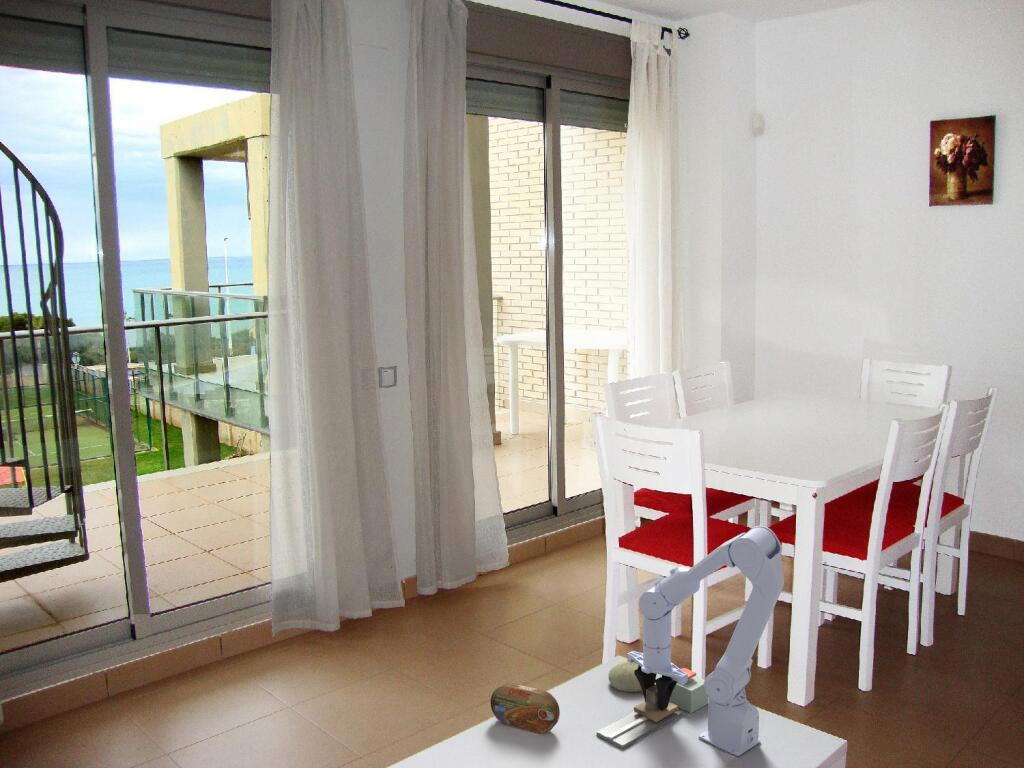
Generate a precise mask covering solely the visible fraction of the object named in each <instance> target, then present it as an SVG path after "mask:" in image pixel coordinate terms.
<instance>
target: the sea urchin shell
mask: <svg viewBox="0 0 1024 768" xmlns="http://www.w3.org/2000/svg"><path fill="white" fill-rule="evenodd" d="M636 669H638V664H636V663H629V662H627V661H625V662H624V661H623V662H621V663H618V664H616V665H614V666H613V667H612V668H611V669H610V670H609V672H608V676H607V677H608V682H609V684H610V685H612V688H615V689H616V690H618V691H620V692H626V693H629V692H630V693H631V692H632V693H636V692H642V689H641V686H640V683H639V681H638V679H637V677H636V676H635V674H634V671H635V670H636Z"/></svg>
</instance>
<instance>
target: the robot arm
mask: <svg viewBox="0 0 1024 768" xmlns="http://www.w3.org/2000/svg"><path fill="white" fill-rule="evenodd" d="M782 552H783V545H782V543H781V542H780V540H779V538H778V537H777V535H776V533H775V532H774V531H773V530H772V529H771V528H770V527H767V526H765V525H756V526H753V527H751V528H750V529H749V530H748V531H747V532H742V533H740V534H738V535H737V536H734V537H733V538H731V539H729V540H727V541H725V542H723V543H722V544H721V545H720V546H718V547H717V548H715V549H714V550H712V551H711V552H710V553H709V554H707V555H706V556H705V557H703V558H702V559H701V560H700V561H698V562H697V563H696V564H694V565H693V566H691V567H689V566H679V567H677V566H675V567H674V568H672V569H671V570H669V575H668V576H666V577H665V578H663V579H662V580H661V579H659V580H658V579H657V580H656V581H654V583H653V584H654V585H653V587H651V588H649V589H648V590H646V591H644V592H643V593H642V595H640V597H639V600H638V608H639V610H640V612H641V613H642V615H643V616H642V617H643V621H642V624H643V626H642V628H643V629H642V632H643V634H642V636H643V637H642V638H643V639H642V644H643V645H642V648H643V649H642V652H639V651H635V650H631V651H630V652H628V653H627V659H626V660H627V661H626V662H629V663H636V664H638V669H636V670H635V671H634V674H635V676H636V677H637V679H638V681H639V683H640V686H641V689H642V690H641V692H642V694H643V695H642V696H643V699H644V701H645V703H646V689H648V688H650V687H652V686H654V685H656V686H657V690H658V704H659V709H660V710H663V709H665V708H667V707H668V704H669V700H670V697H671V694H672V692H673V690H674V688H675V686H676V684H677V683H678V684H679V685H684V684H686V683H687V682H688V674H687V673H685V672H683V671H682V670H681V669H682V668H679V667H678V666H677V665H675V664H674V663H673V662H672V611H673V609H675V607H677V606H678V605H680V604H682V603H683V602H684V601H686V600H687V599H689V598H691V596H693V595H694V594H696V593H698V592H699V591H700V587H701V581H702V580H704V579H705V578H707V577H709V576H710V575H711V574H713V573H714V572H716V571H718V570H720V568H722V567H724V566H726V567H729V568H733V569H734V568H735V567H736V568H737V569H739V571H740V572H741V573H742V574H743V575H744V576H745V577H746V578H747V579H748V581H749V582H750V583H751V585H752V590H751V591H750V594H749V596H748V599H747V601H746V603H745V605H744V608H743V610H742V612H741V615H740V617H739V618H738V622H737V623H736V626H735V629H734V631H733V633H732V636H731V638H730V640H729V642H728V644H727V647H726V649H725V652H724V654H723V655H722V657H721V658H720V660H718V663H717V664H716V666H715V668H714V670H713V671H711V673H709V674H708V675H707V676H706V677H705V678H704V680H705V681H704V689H705V692H706V694H707V696H708V704H707V707H708V708H707V709H708V710H707V713H708V714H707V715H708V716H707V730H704V731H703V732H701V733H699V734H698V738H699V739H700V740H702V741H705V742H707V743H709V744H711V745H713V746H716V747H718V748H719V749H721V750H723V751H725V752H727V753H729V754H732V755H733V756H736V757H740V756H741V755H743V754H744V753H745V752H747V751H749V750H750V749H752V748H753V747H755V746H756V745H758V744H759V743H761V739H760V737H759V731H760V730H759V728H760V727H759V725H760V713H759V710H758V708H757V707H756V706H754V705H753V704H751V703H750V702H749V701H748V700H747V694H746V689H745V688H746V686H747V685H748V684H749V683H750V681H751V678H752V673H751V667H752V664H753V662H754V660H753V659H752V658H753V655H754V654H755V651H756V648H757V647H758V644H759V642H760V641H761V637H762V635H763V633H764V631H765V629H766V626H767V624H768V622H769V620H770V618H771V616H772V613H773V612H774V611H773V610H774V609H775V606H776V604H777V602H778V599H779V598H780V596H781V593H782V591H783V588H784V586H785V577H784V571H783V570H784V569H783V562H782V561H783V560H782ZM657 675H660V677H658V678H657Z"/></svg>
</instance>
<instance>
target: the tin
mask: <svg viewBox="0 0 1024 768" xmlns="http://www.w3.org/2000/svg"><path fill="white" fill-rule="evenodd" d="M490 709H491V711H492V714H493V716H494V717H495V718H496V719H497V720H498V722H500V723H501V724H503V725H504V726H508V727H512V728H516V729H521V730H524V731H528V732H531V733H536V734H546V733H549V732H550V731H552V729H554V727H555V726H556V725H557V723H559V720H560V717H561V716H560V714H561V712H560V705H559V703H558V701H557V699H556V698H555V697H554V696H553V694H551V693H550V692H549V691H547V690H544V689H540V688H536V687H535V688H534V687H531V686H526V685H522V684H517V683H512V682H507V683H505V684H502V685H501V686H499V687H497V688H496V689H494V691H493V692H492V693H491V695H490Z"/></svg>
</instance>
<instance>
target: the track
mask: <svg viewBox="0 0 1024 768" xmlns="http://www.w3.org/2000/svg"><path fill="white" fill-rule="evenodd" d="M683 716H684V711H683V710H680V709H678V711H676V712H674V713H672V714H671V715H669V716H667V717H665V718H663V719H661V720H660V721H658V722H655V721H653V720H651V719H648V718H646V717H644V716H642V715H640V714H638V713H636V712H634V711H633V712H631V713H630V714H627V715H626V716H624V717H622V718H620V719H618V720H615V721H614V722H612V723H610V724H608V725H606V726H605V727H603V728H600V729H598V730H597V731H596V737H599V738H600V739H602V738H603V739H602V740H604V739H605V740H604V741H606V740H607V741H606V742H608V743H610V744H612V745H614V746H615V747H617V746H618V748H619V747H620V748H619V749H621V748H622V749H621V750H624V749H626V748H627V747H630V746H631V745H633V744H636V743H637V742H638V741H640V740H642V739H644V738H645V737H647V736H649V735H650V734H652V733H654V732H656V731H658V730H660V729H662V728H664V727H665V726H667V725H669V724H670V723H672V722H675V720H677V719H680V718H681V717H683Z"/></svg>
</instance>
